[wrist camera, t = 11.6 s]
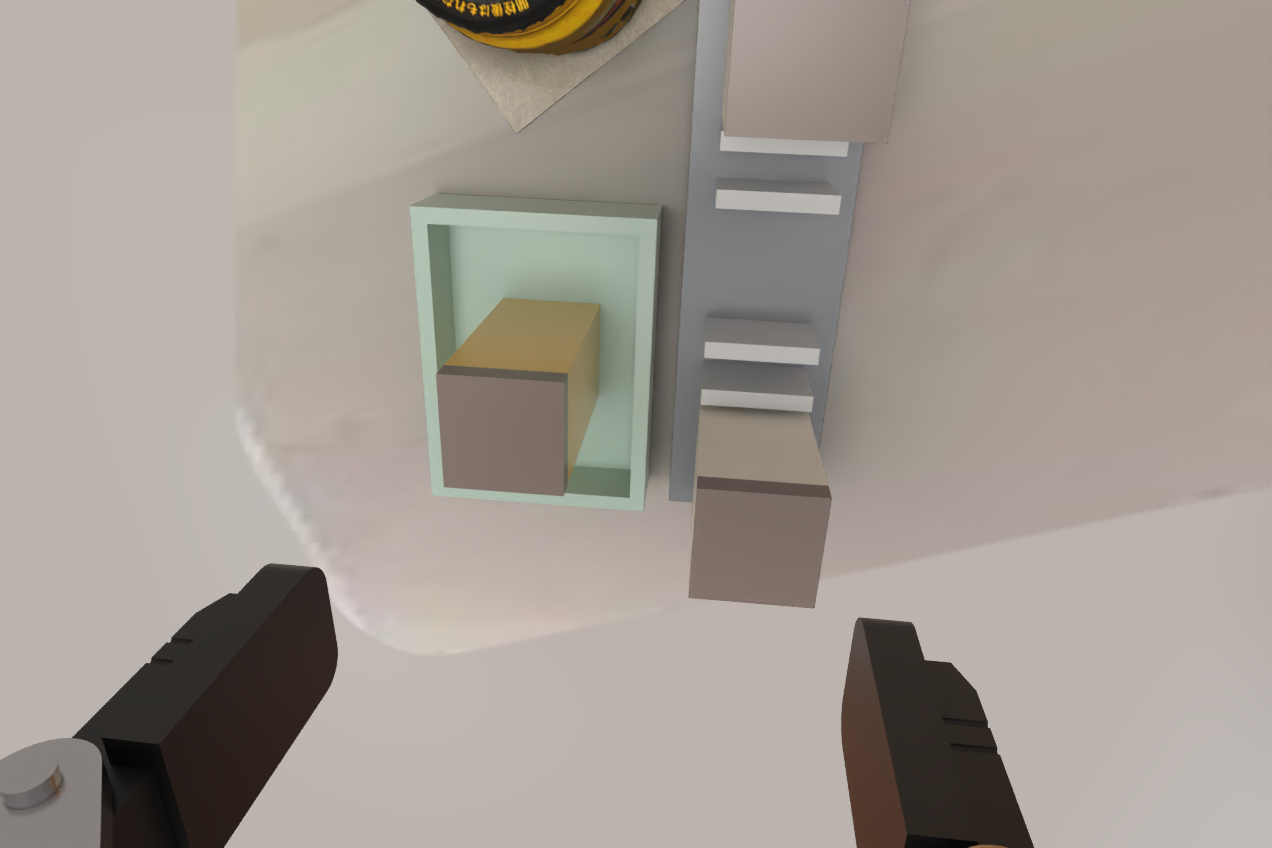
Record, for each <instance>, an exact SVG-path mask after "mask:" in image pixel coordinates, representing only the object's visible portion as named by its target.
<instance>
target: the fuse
mask: <svg viewBox="0 0 1272 848" xmlns="http://www.w3.org/2000/svg"><path fill="white" fill-rule="evenodd" d="M599 351H600V304H594V303H578V302H561V301H545V300H528V299H512V298H503V299H502V300H501V301H500V302H499V303H498V304H497V306H496V307H495V308H494V309H493V310H492V311H491V312H490V313H489V315H488V316H487V317H486V318H485V319H484V320H483V321H482V322H481V324H480V325H479V326H478V327H477V328H476V329H475V330H474V331H473V333H472V334H471V335H470V336H469V337H468V338H467V339H466V340H465V342H464V343H463V344H462V345H461V346H460V347H459V348H458V349H457V351H456V352H455V353H454V354H453V355H452V356H451V357H450V358H449V360H448V361H447V362H446V363H445V364H444V365H443V366H442V367H441V369H440V370H439V371H438V372H437V373H436V384H437V398H438V412H439V426H440V441H441V455H442V469H443V483H444V487H446V488H459V489H473V490H486V491H499V492H512V493H525V494H538V495H551V496H564V494H565V491H566V488H567V486H568V483H569V480H570V477H571V474H572V471H573V468H574V465H575V462H576V459H577V457H578V454H579V451H580V448H581V445H582V442H583V439H584V436H585V433H586V430H587V427H588V425H589V422H590V419H591V416H592V413H593V410H594V407H595V404H596V401H597V398H598V396H599Z"/></svg>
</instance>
